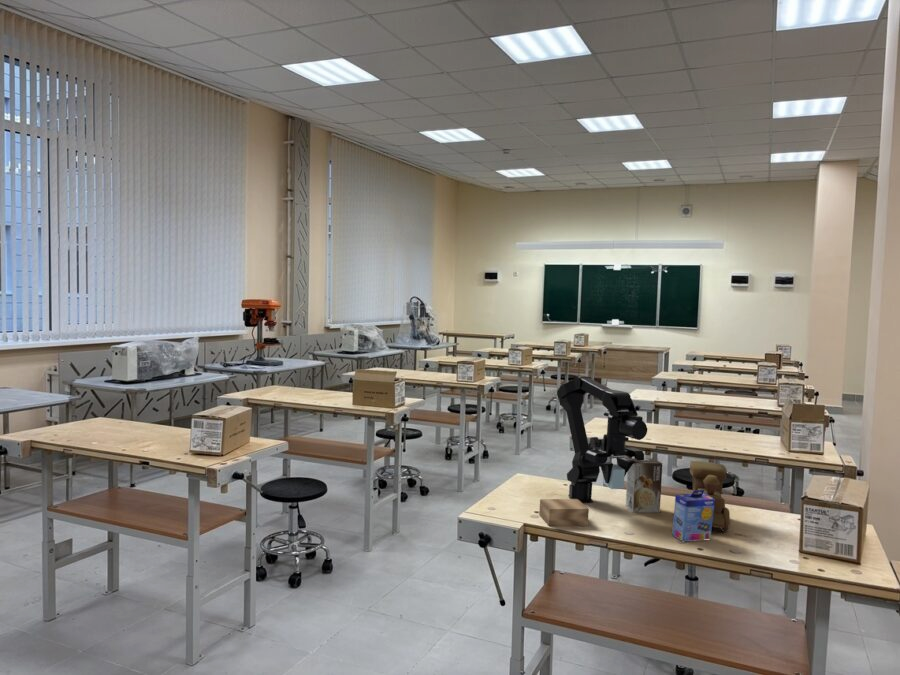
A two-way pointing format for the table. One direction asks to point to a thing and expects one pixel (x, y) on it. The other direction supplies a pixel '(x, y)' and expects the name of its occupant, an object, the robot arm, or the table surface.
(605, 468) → the robot arm
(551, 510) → the brown wooden block
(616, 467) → the block
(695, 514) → the ink cartridge box
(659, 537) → the table surface
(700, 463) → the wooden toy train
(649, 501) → the coffee box
